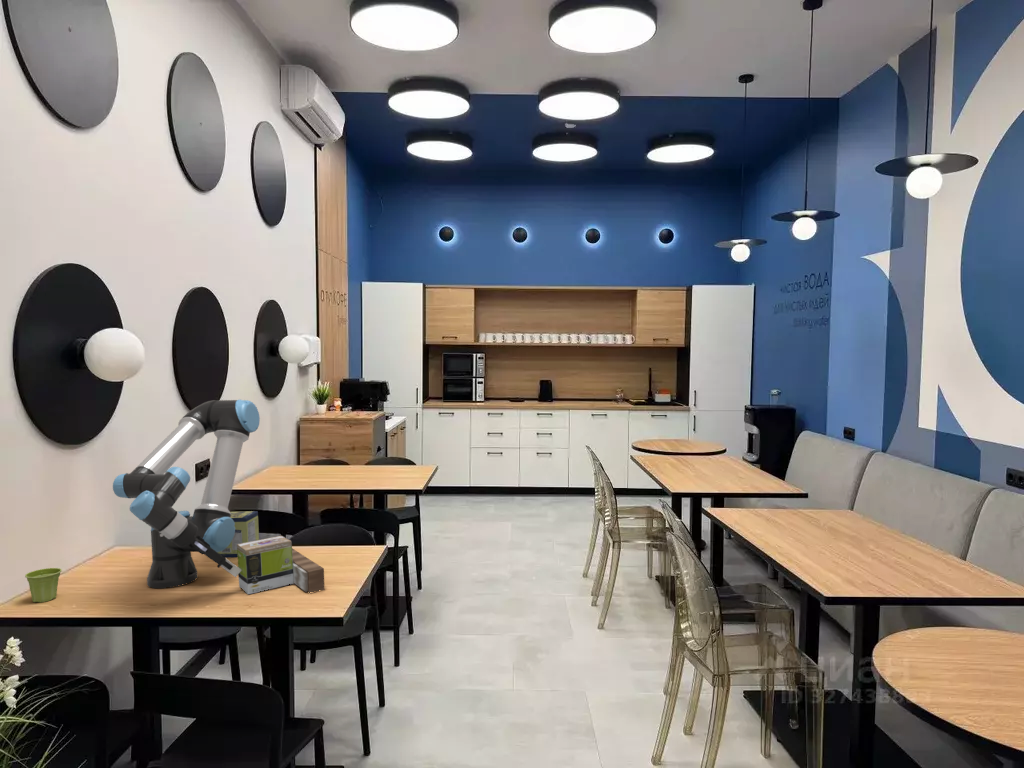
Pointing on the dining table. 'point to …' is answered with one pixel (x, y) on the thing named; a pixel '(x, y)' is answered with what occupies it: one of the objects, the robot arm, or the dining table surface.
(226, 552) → the protein box
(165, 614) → the dining table surface
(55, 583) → the plant pot
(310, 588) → the bar
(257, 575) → the tea box
